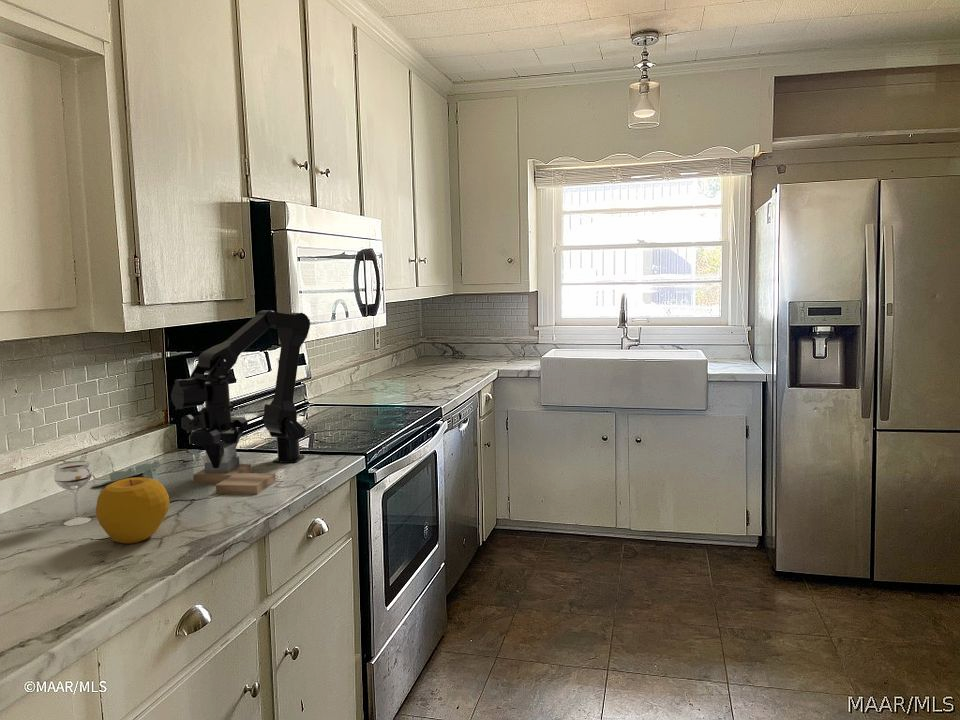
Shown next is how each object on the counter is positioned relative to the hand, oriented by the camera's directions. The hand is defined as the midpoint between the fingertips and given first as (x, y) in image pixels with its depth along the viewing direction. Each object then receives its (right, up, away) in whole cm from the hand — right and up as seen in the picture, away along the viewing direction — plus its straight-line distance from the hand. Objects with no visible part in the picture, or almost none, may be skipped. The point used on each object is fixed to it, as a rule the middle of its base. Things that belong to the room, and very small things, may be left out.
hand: (222, 464), depth 184 cm
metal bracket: (-21, -5, -1) cm, 22 cm away
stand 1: (0, -3, 0) cm, 3 cm away
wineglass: (-20, -8, -30) cm, 36 cm away
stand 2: (+9, -4, -9) cm, 13 cm away
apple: (-3, -9, -41) cm, 41 cm away
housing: (0, -1, 0) cm, 1 cm away
